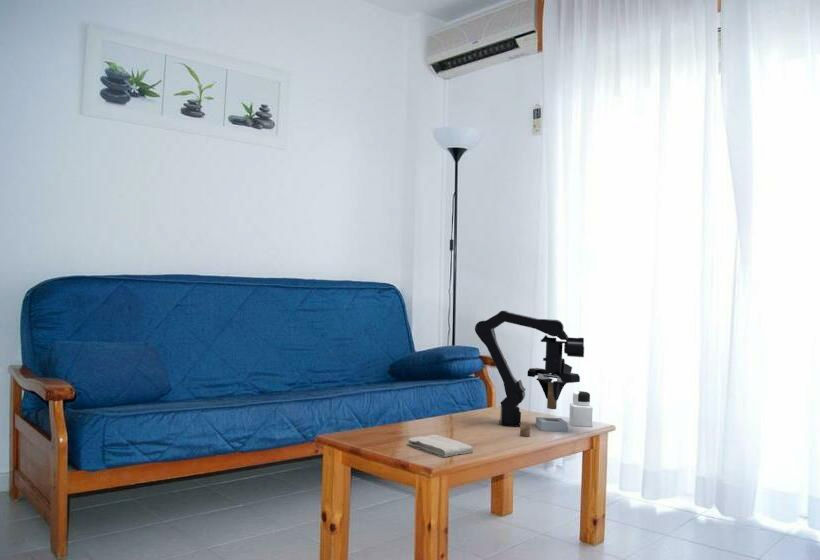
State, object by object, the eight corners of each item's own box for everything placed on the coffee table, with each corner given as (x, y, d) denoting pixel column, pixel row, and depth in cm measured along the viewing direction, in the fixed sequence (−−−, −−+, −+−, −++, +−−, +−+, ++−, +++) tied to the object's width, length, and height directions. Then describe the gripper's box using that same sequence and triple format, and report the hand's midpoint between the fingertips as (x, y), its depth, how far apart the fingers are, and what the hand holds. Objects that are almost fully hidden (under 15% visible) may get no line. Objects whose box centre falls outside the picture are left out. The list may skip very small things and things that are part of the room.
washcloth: (433, 441, 201) (434, 431, 201) (474, 454, 187) (475, 443, 187) (404, 446, 193) (404, 436, 193) (444, 459, 180) (445, 448, 180)
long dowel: (548, 409, 225) (549, 383, 225) (546, 407, 228) (547, 381, 229) (557, 409, 225) (558, 383, 226) (555, 407, 229) (556, 382, 229)
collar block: (541, 430, 222) (541, 422, 222) (535, 425, 231) (536, 417, 231) (567, 431, 222) (567, 423, 222) (560, 426, 231) (561, 418, 231)
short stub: (520, 436, 211) (521, 424, 211) (519, 434, 215) (519, 422, 215) (530, 437, 211) (531, 424, 212) (528, 434, 215) (529, 422, 215)
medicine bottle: (588, 423, 240) (589, 390, 240) (592, 427, 233) (593, 393, 233) (569, 422, 240) (570, 389, 241) (572, 425, 233) (573, 392, 234)
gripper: (589, 357, 226) (588, 402, 225) (546, 352, 240) (544, 394, 239) (571, 358, 218) (569, 404, 218) (527, 353, 232) (525, 396, 232)
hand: (552, 399), depth 227 cm, fingers closed on long dowel, 3 cm apart
